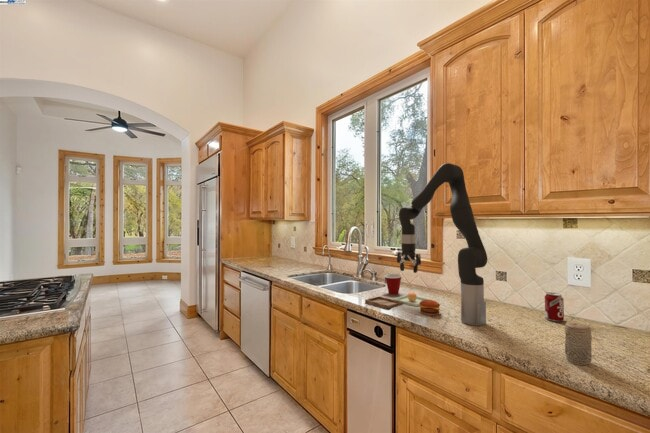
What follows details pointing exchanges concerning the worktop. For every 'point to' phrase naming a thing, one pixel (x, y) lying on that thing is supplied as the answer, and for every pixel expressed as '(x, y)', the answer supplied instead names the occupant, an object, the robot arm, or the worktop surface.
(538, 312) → the worktop surface
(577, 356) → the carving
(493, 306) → the worktop surface
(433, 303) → the hamburger
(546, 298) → the soda can
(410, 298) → the ball
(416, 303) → the dish
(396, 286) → the plastic cup
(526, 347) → the worktop surface
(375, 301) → the tray
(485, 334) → the worktop surface
